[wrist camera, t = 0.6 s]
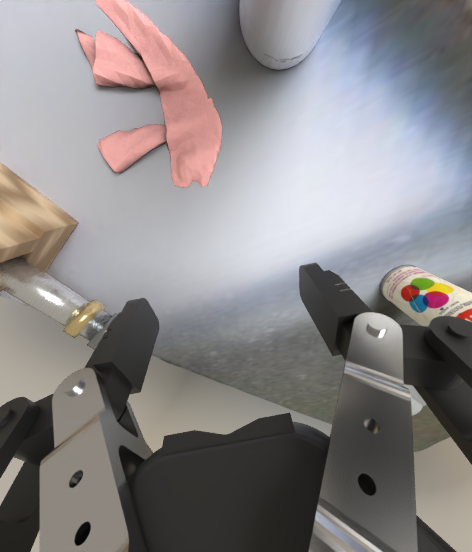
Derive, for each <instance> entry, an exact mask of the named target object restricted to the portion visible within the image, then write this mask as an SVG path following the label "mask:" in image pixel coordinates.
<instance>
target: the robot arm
mask: <svg viewBox="0 0 472 552" xmlns="http://www.w3.org/2000/svg"><path fill="white" fill-rule="evenodd" d="M341 1H342V0H240V4H239V18H240V25H241V31H242V34H243V38H244V41H245V43H246V45H247V47H248V49H249V51H250V52H251V54H252V55H253V56H254V58H255V59H256V60H257V61H259V62H260V63H261V64H262V65H264V66H266V67H268V68H271V69H277V70H281V69H288V68H290V67H293V66H295V65H297V64H298V63H299V62H301V61H302V60H304V59H305V58H306V56H307V55H308V54H309V53H310V52H311V51H312V49H313V48H314V46H315V45H316V43H317V41H318V40H319V38H320V36H321V35H322V33H323V31H324V30H325V28H326V26H327V24H328V23H329V21H330V20H331V18H332V16H333V15H334V13H335V11H336V10H337V8H338V6H339V4H340V3H341ZM299 288H300V296H301V299H302V301H303V303H304V305H305V307H306V309H307V310H308V312H309V314H310V316H311V318H312V319H313V321H314V323H315V325H316V327H317V328H318V330H319V332H320V334H321V336H322V337H323V339H324V341H325V343H326V345H327V346H328V348H329V350H330V352H331V354H332V355H333V356H336V355H341V354H342V356H343V358H344V359H345V365H344V370H343V375H342V380H341V385H340V390H339V395H338V400H337V405H336V409H335V414H334V419H333V424H332V429H331V434H330V437H329V436H327V435H326V434H324V433H322V432H321V431H319V430H317V429H315V428H313V427H311V426H308V425H305V424H302V423H297V422H292V418H291V415H290V413H286V414H281V415H275V416H270V417H264V418H259V419H257V420H255V421H253V422H251V423H249V424H247V425H246V426H243V427H242V428H240V429H238V430H236V431H234V432H232V433H230V434H227V435H222V434H215V433H209V432H202V431H195V430H194V431H189V432H183V433H178V434H173V435H168V436H164V440H163V446H162V448H160V449H159V450H157V451H156V452H154V453H153V452H152V450H151V449H150V448H149V446H148V445H147V444H146V442H145V440H144V438H143V435H142V433H141V430H140V428H139V425H138V423H137V421H136V418H135V416H134V413H133V411H132V408H131V406H130V404H129V402H127V400H128V397H129V394H133V393H139V392H141V389H142V385H143V382H144V378H145V375H146V372H147V368H148V364H149V361H150V358H151V355H152V351H153V348H154V344H155V341H156V338H157V334H158V331H159V321H158V318H157V317H156V315H155V313H154V311H153V310H152V308H151V306H150V305H149V303H148V301H147V300H146V299H145V298H140V299H136V300H131V301H128V302H127V303H126V305H125V307H124V308H123V310H122V312H121V313H119V314H118V315H117V316H116V317H115V318H114V319H113V320H112V321H111V323H110V324H109V326H108V328H107V330H106V332H105V333H104V335H103V337H102V339H101V340H100V342H99V344H98V345H97V347H96V349H95V351H94V352H93V354H92V356H91V358H90V360H89V361H88V363H87V365H86V366H85V368H83V369H80V370H78V371H76V372H74V373H72V374H71V375H70V376H68V377H67V378H66V379H65V380H64V381H63V382H62V383H61V384H60V385H59V387H58V388H57V389H56V391H55V392H54V394H51V395H49V396H47V397H45V398H43V399H41V400H39V401H37V402H35V403H34V402H32V401H30V400H29V399H27V398H25V397H19V398H16V399H13V400H11V401H9V402H7V403H6V404H4V405H2V406H1V407H0V478H1V476H2V475H3V473H4V471H5V469H6V468H7V466H8V464H9V463H10V461H11V460H12V458H13V457H14V458H17V459H20V460H22V461H25V462H24V464H23V466H22V468H21V470H20V471H19V473H18V475H17V477H16V478H15V480H14V482H13V484H12V486H11V487H10V489H9V491H8V493H7V495H6V497H5V498H4V500H3V502H2V504H1V506H0V552H30V551H31V548H32V546H33V544H34V541H35V539H36V537H37V534H38V532H39V529H40V552H456V551H455V550H454V549H453V548H452V547H451V546H450V545H448V544H447V543H446V542H445V541H444V540H443V539H442V538H441V537H440V536H439V535H437V534H436V533H435V532H434V531H433V530H432V529H431V528H430V527H429V526H428V525H426V524H425V523H424V522H423V521H422V520H421V519H420V518H419V517H418V516H417V515H416V500H415V478H414V477H415V476H414V454H413V429H412V406H411V395H410V391H409V389H408V388H406V387H404V384H405V385H412V386H413V387H414V388H415V389H416V391H417V392H418V393H419V395H420V396H421V397H422V399H423V400H424V401H425V403H426V404H427V405H428V407H429V408H430V409H431V411H432V412H433V413H434V415H435V416H436V417H437V419H438V420H439V421H440V423H441V424H442V425H443V427H444V428H445V429H446V431H447V432H448V433H449V435H450V436H451V438H452V439H453V440H454V442H455V443H456V444H457V446H458V447H459V448H460V449H461V451H462V452H463V454H464V455H465V456H466V458H467V459H468V460H469V462H470V463H471V464H472V322H470V321H468V320H465V319H462V318H458V317H453V316H439V317H436V318H434V319H432V320H431V322H430V324H429V325H428V326H412V325H400V324H398V323H397V322H395V321H394V320H393V319H391V318H390V317H388V316H385V315H383V314H379V313H374V312H372V311H371V310H370V309H369V308H368V307H367V306H366V304H365V303H364V302H363V301H362V300H361V299H360V298H359V297H358V296H357V295H356V294H355V293H354V292H353V290H351V289H350V287H349V286H348V285H347V284H345V282H344V281H343V280H342V279H341V278H340V277H339V275H337V274H335V273H333V272H331V271H329V270H328V271H323V270H322V269H321V268H320V266H319V265H318V264H317V263H312V264H307V265H302V266H300V268H299Z"/></svg>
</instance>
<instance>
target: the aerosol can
mask: <svg viewBox="0 0 472 552" xmlns="http://www.w3.org/2000/svg"><path fill="white" fill-rule="evenodd" d="M380 291H381V294H382V295H383V296H384V297H385V298H386V299H387V300H389V301H390V302H391V303H393V304H394V305H395V306H397V307H398V308H399V309H401V310H402V311H403V312H404V313H406V314H407V315H408V316H410V317H411V318H412V319H414V320H415V321H416V322H417V323H419V324H420V325H421V326H428V325H429V324H430V322H431V320H432V319H434V318H436V317H439V316H453V317H458V318H462V319H465V320H468V321H470V322H472V293H471V292H468V291H466V290H464V289H462V288H460V287H458V286H456V285H453V284H451V283H449V282H447V281H445V280H443V279H441V278H438V277H436V276H434V275H432V274H430V273H428V272H426V271H423V270H421V269H419V268H417V267H415V266H412V265H402V266H399V267H396V268H394V269H393V270H391V271H390V272H388V273H387V274H386V275H385V277H384V278H383V280H382V281H381V284H380Z"/></svg>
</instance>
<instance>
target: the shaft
mask: <svg viewBox="0 0 472 552" xmlns="http://www.w3.org/2000/svg"><path fill="white" fill-rule="evenodd" d="M0 288H1V289H2V290H4V291H6V292H8V293H9V294H11V295H13V296H14V297H16V298H18V299H20V300H21V301H23V302H25V303H26V304H28V305H30V306H31V307H33V308H35V309H37V310H38V311H40V312H42V313H43V314H45V315H47V316H49V317H50V318H52V319H54V320H55V321H57V322H59V323H60V324H62V325H64V326H66V327H65V328H64V330H63V332H65V333H67V334H68V335H70V336H72V337H74V338H75V337H77V336H78V335H81V336H83V337H84V338H86V339H88V340H89V341H90V342H89V343H88V344H87V346H89V347H91V348H93V349H94V350H95V349H96V347H97V345H98V344H99V342H100V340H101V339H102V337H103V335H104V333H105V332H106V330H107V328H108V326H109V324H110V323H111V321H112V320H113V319H114V318H115V317H116V316H117V315H118V314H116V313H115V314H114V316H111V315H109V314H108V313H106V312H105V311H103V309H104V308H105V306H104V305H103V304H101V303H100V302H98V301H97V300H93V301H92V302H90V301H88V300H86V299H85V298H83V297H82V296H80V295H79V294H77V293H76V292H74V291H73V290H71V289H70V288H68V287H67V286H65V285H63V284H62V283H60V282H59V281H57V280H56V279H54V278H53V277H51V276H50V275H48V274H47V273H45V272H43V271H42V270H40V269H39V268H37V267H36V266H34V265H33V264H31V263H30V262H28V261H27V260H25V259H24V258H22V257H20V256H18V257H15V258H12V259H10V260H7V261H4V262H1V263H0Z"/></svg>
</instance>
